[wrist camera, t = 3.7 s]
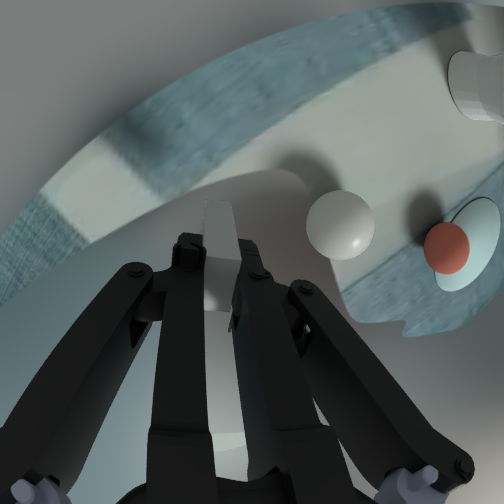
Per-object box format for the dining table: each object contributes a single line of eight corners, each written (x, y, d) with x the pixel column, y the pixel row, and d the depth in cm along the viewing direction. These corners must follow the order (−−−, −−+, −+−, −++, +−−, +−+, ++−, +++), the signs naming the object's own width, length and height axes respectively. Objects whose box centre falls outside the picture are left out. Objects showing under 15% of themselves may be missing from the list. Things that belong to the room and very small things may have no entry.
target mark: (489, 176, 24) (490, 177, 23) (503, 243, 30) (504, 244, 29) (421, 252, 28) (422, 253, 27) (447, 305, 34) (448, 306, 33)
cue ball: (332, 168, 22) (363, 189, 17) (366, 211, 24) (398, 238, 19) (285, 213, 23) (303, 244, 19) (323, 250, 26) (346, 285, 21)
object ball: (440, 204, 25) (473, 226, 20) (453, 235, 27) (482, 258, 22) (407, 237, 26) (437, 265, 22) (423, 265, 29) (449, 293, 24)
